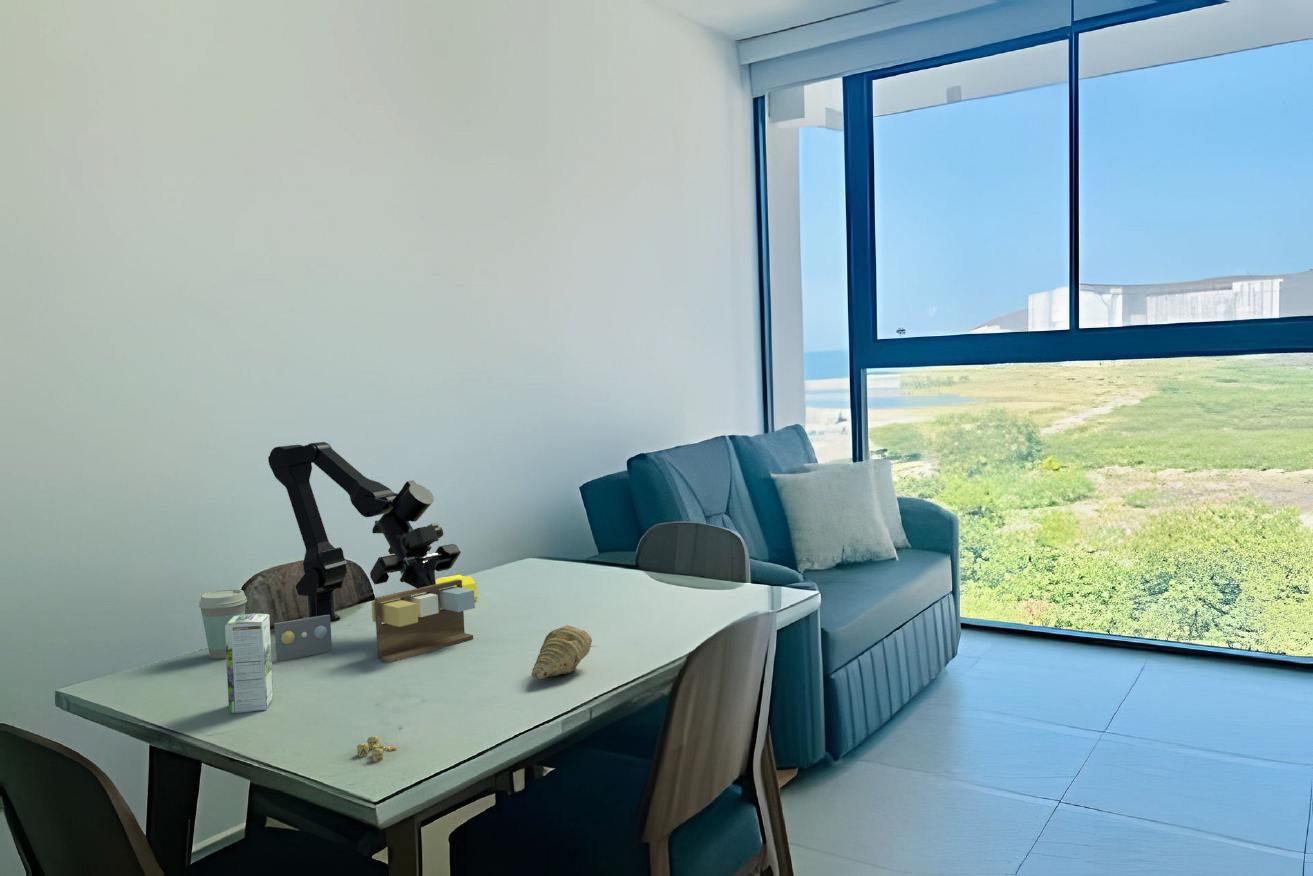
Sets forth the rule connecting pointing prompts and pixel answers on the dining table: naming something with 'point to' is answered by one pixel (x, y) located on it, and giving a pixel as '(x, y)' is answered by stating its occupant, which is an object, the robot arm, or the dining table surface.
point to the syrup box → (249, 663)
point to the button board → (419, 627)
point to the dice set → (377, 749)
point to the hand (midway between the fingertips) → (434, 596)
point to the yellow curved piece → (466, 583)
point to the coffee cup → (220, 617)
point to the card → (303, 637)
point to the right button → (456, 599)
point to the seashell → (561, 652)
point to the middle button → (424, 603)
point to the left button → (397, 612)
